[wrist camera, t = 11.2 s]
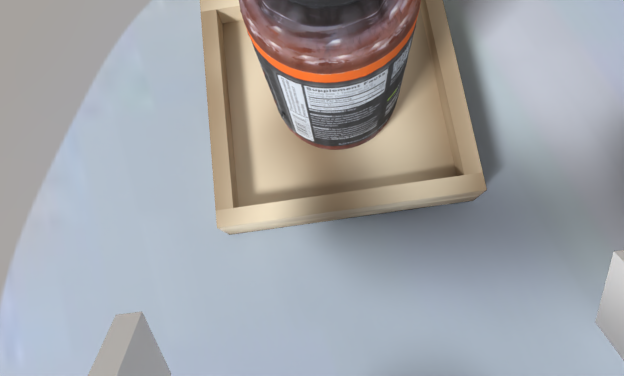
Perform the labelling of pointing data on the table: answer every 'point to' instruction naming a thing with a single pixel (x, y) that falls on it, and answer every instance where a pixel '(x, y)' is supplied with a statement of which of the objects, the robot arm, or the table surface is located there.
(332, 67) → the supplement bottle
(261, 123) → the birch tray
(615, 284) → the robot arm
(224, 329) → the table surface
